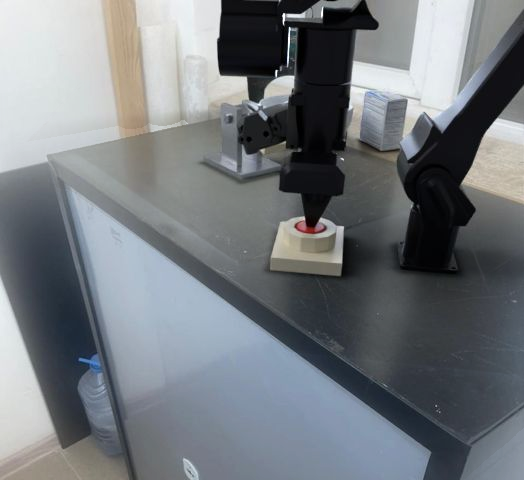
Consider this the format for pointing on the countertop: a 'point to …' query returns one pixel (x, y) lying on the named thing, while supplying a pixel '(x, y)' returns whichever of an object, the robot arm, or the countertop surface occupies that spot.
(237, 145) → the bracket
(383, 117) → the medicine box
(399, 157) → the robot arm
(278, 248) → the control block
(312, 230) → the button
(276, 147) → the lever
